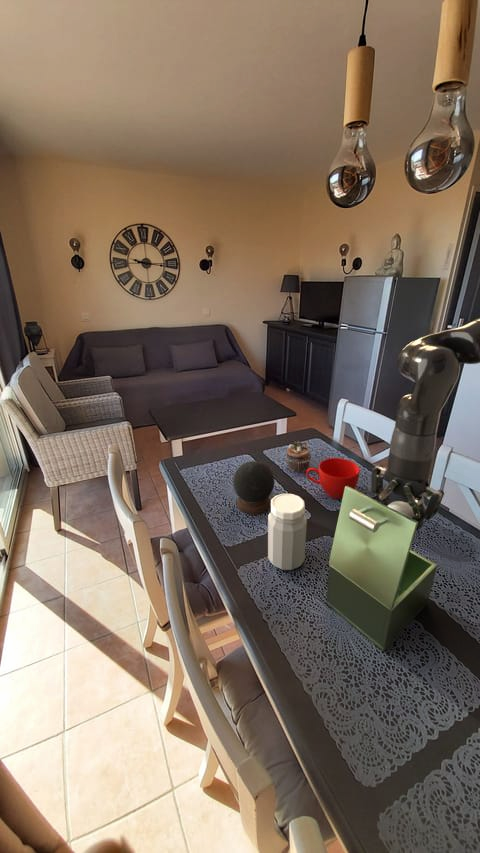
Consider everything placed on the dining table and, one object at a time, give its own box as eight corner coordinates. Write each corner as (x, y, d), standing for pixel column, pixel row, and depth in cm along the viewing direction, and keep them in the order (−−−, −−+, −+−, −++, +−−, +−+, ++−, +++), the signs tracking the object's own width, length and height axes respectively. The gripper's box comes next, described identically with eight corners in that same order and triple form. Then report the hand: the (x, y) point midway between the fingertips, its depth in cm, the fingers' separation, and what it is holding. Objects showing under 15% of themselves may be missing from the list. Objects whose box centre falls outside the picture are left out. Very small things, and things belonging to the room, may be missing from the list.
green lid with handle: (347, 485, 72) (330, 491, 69) (418, 522, 61) (402, 531, 58) (330, 562, 78) (314, 571, 75) (393, 608, 67) (377, 620, 64)
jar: (300, 577, 90) (303, 518, 82) (262, 567, 93) (262, 510, 86) (307, 550, 98) (311, 495, 91) (273, 542, 101) (273, 488, 94)
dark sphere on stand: (244, 521, 110) (242, 479, 104) (227, 498, 121) (225, 459, 115) (281, 509, 115) (282, 468, 109) (262, 488, 126) (262, 450, 120)
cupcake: (280, 469, 137) (281, 445, 133) (292, 458, 145) (293, 436, 141) (303, 476, 132) (305, 452, 128) (314, 464, 140) (316, 441, 135)
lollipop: (412, 562, 78) (424, 505, 72) (395, 575, 75) (407, 517, 69) (387, 546, 83) (396, 491, 77) (370, 557, 80) (379, 501, 74)
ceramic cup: (306, 480, 130) (307, 455, 126) (355, 484, 127) (358, 459, 122) (304, 501, 118) (305, 475, 114) (358, 506, 115) (361, 479, 111)
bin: (370, 566, 92) (376, 529, 87) (427, 604, 82) (437, 564, 77) (325, 603, 83) (329, 564, 78) (383, 652, 72) (391, 610, 67)
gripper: (460, 457, 65) (442, 531, 72) (387, 432, 75) (377, 498, 82) (440, 471, 61) (423, 548, 68) (366, 442, 71) (357, 512, 78)
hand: (398, 520), depth 75 cm, fingers closed on lollipop, 6 cm apart
